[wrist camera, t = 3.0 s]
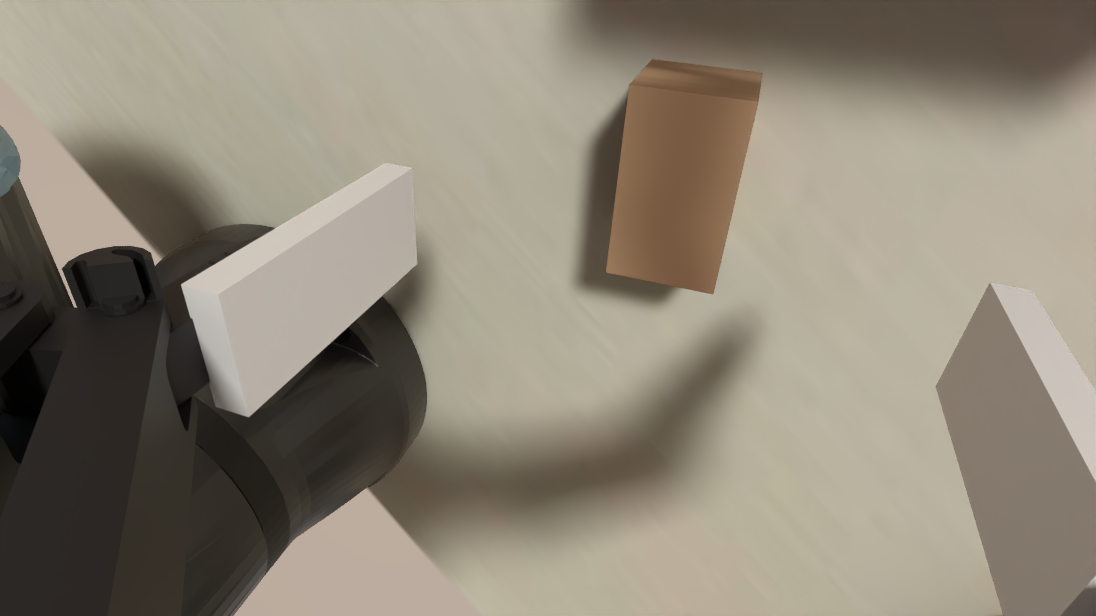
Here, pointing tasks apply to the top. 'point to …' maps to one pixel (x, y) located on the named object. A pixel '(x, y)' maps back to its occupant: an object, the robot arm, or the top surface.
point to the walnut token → (680, 172)
